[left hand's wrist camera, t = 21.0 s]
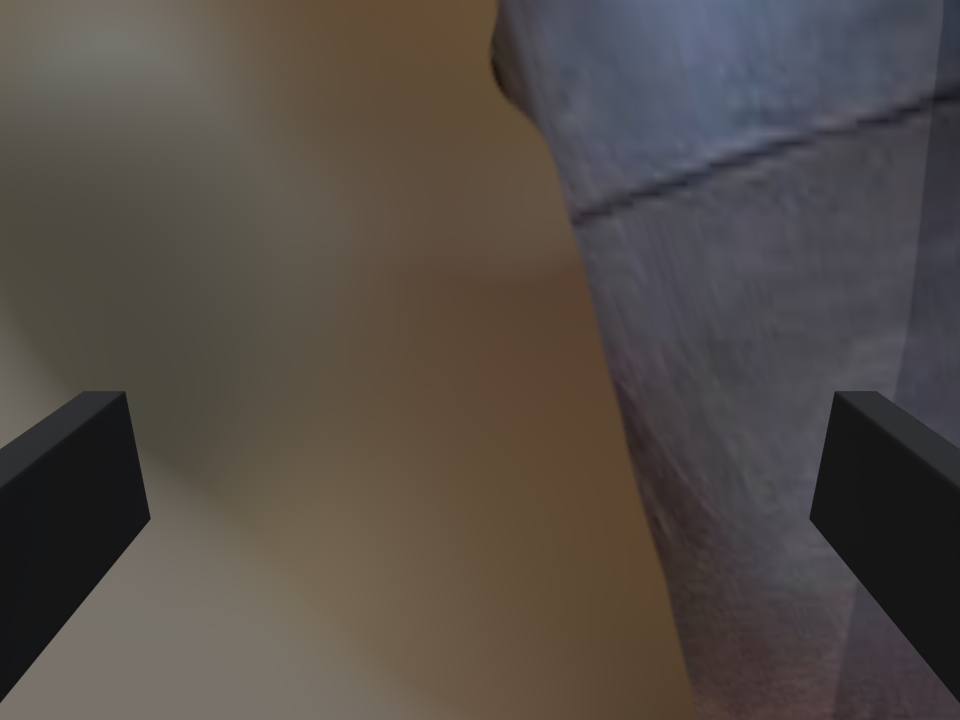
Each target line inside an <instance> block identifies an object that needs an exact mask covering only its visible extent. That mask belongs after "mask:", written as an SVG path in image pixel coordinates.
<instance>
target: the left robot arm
mask: <svg viewBox="0 0 960 720" xmlns="http://www.w3.org/2000/svg"><path fill="white" fill-rule="evenodd" d="M150 519H151V518H150V513H149V508H148V503H147V498H146V493H145V488H144V483H143V478H142V473H141V468H140V464H139V458H138V453H137V449H136V444H135V439H134V434H133V428H132V424H131V419H130V414H129V409H128V404H127V399H126V394H125V391H84V392H82V393H81V394H79V395H78V396H76V397H75V398H73V399H72V400H70V401H69V402H68V403H66V404H65V405H63V406H62V407H60V408H59V409H57V410H56V411H55V412H53V413H52V414H50V415H49V416H47V417H46V418H45V419H43V420H42V421H40V422H39V423H37V424H36V425H35V426H33V427H32V428H30V429H29V430H27V431H26V432H24V433H23V434H22V435H20V436H19V437H17V438H16V439H14V440H13V441H11V442H10V443H9V444H7V445H6V446H4V447H3V448H1V449H0V703H1V701H2V700H3V699H4V698H5V697H6V695H7V694H8V693H9V692H10V690H11V689H12V688H13V687H14V686H15V684H16V683H17V682H18V681H19V679H20V678H21V677H22V676H23V675H24V673H25V672H26V671H27V670H28V668H29V667H30V666H31V665H32V663H33V662H34V661H35V660H36V659H37V657H38V656H39V655H40V654H41V653H42V651H43V650H44V649H45V647H46V646H47V645H48V644H49V643H50V641H51V640H52V639H53V638H54V637H55V635H56V634H57V633H58V632H59V630H60V629H61V628H62V627H63V626H64V624H65V623H66V622H67V621H68V619H69V618H70V617H71V616H72V614H73V613H74V612H75V611H76V610H77V608H78V607H79V606H80V605H81V604H82V602H83V601H84V600H85V599H86V597H87V596H88V595H89V594H90V592H91V591H92V590H93V589H94V588H95V586H96V585H97V584H98V583H99V582H100V580H101V579H102V578H103V577H104V575H105V574H106V573H107V572H108V570H109V569H110V568H111V567H112V566H113V564H114V563H115V562H116V561H117V559H118V558H119V557H120V556H121V555H122V553H123V552H124V551H125V550H126V548H127V547H128V546H129V545H130V544H131V542H132V541H133V540H134V539H135V537H136V536H137V535H138V534H139V533H140V531H141V530H142V529H143V528H144V526H145V525H146V524H147V523H148V522H149V520H150ZM809 519H810V520H811V522H812V523H813V524H814V525H815V526H816V528H817V529H818V530H819V531H820V533H821V534H822V535H823V536H824V537H825V539H826V540H827V541H828V542H829V544H830V545H831V546H832V547H833V548H834V550H835V551H836V552H837V553H838V555H839V556H840V557H841V558H842V560H843V561H844V562H845V563H846V564H847V566H848V567H849V568H850V569H851V571H852V572H853V573H854V574H855V575H856V577H857V578H858V579H859V580H860V582H861V583H862V584H863V585H864V586H865V588H866V589H867V590H868V591H869V593H870V594H871V595H872V596H873V597H874V599H875V600H876V601H877V602H878V604H879V605H880V606H881V607H882V608H883V610H884V611H885V612H886V613H887V615H888V616H889V617H890V618H891V619H892V621H893V622H894V623H895V624H896V626H897V627H898V628H899V629H900V630H901V632H902V633H903V634H904V635H905V637H906V638H907V639H908V640H909V642H910V643H911V644H912V645H913V646H914V648H915V649H916V650H917V651H918V653H919V654H920V655H921V656H922V657H923V659H924V660H925V661H926V662H927V664H928V665H929V666H930V667H931V668H932V670H933V671H934V672H935V673H936V675H937V676H938V677H939V678H940V679H941V681H942V682H943V683H944V684H945V686H946V687H947V688H948V689H949V690H950V692H951V693H952V694H953V695H954V697H955V698H956V699H957V700H958V701H959V703H960V449H959V448H957V447H956V446H954V445H953V444H951V443H950V442H949V441H947V440H946V439H944V438H943V437H941V436H940V435H938V434H937V433H936V432H934V431H933V430H931V429H930V428H928V427H927V426H926V425H924V424H923V423H921V422H920V421H918V420H917V419H915V418H914V417H913V416H911V415H910V414H908V413H907V412H905V411H904V410H902V409H901V408H900V407H898V406H897V405H895V404H894V403H892V402H891V401H890V400H888V399H887V398H885V397H884V396H882V395H881V394H879V393H878V392H877V391H835V394H834V399H833V404H832V409H831V414H830V418H829V423H828V428H827V433H826V438H825V443H824V448H823V453H822V458H821V463H820V468H819V473H818V478H817V483H816V488H815V493H814V498H813V503H812V508H811V513H810V518H809Z"/></svg>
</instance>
